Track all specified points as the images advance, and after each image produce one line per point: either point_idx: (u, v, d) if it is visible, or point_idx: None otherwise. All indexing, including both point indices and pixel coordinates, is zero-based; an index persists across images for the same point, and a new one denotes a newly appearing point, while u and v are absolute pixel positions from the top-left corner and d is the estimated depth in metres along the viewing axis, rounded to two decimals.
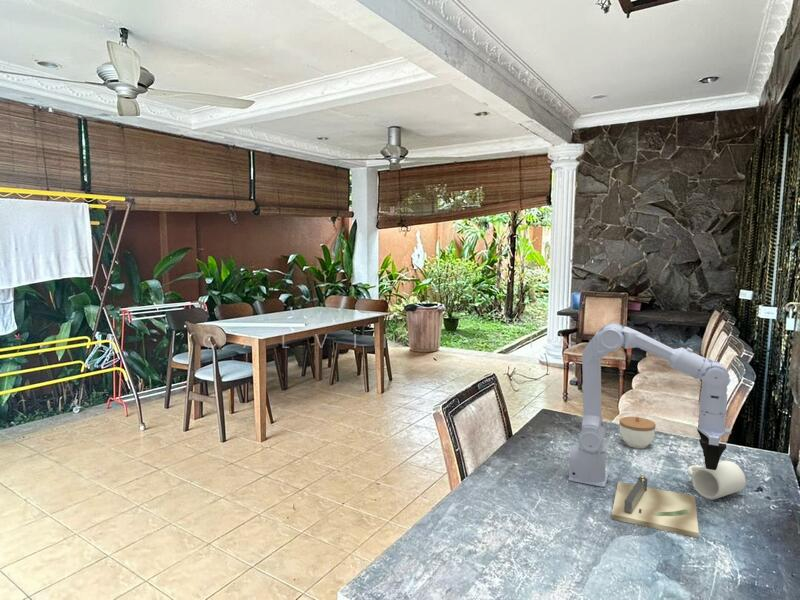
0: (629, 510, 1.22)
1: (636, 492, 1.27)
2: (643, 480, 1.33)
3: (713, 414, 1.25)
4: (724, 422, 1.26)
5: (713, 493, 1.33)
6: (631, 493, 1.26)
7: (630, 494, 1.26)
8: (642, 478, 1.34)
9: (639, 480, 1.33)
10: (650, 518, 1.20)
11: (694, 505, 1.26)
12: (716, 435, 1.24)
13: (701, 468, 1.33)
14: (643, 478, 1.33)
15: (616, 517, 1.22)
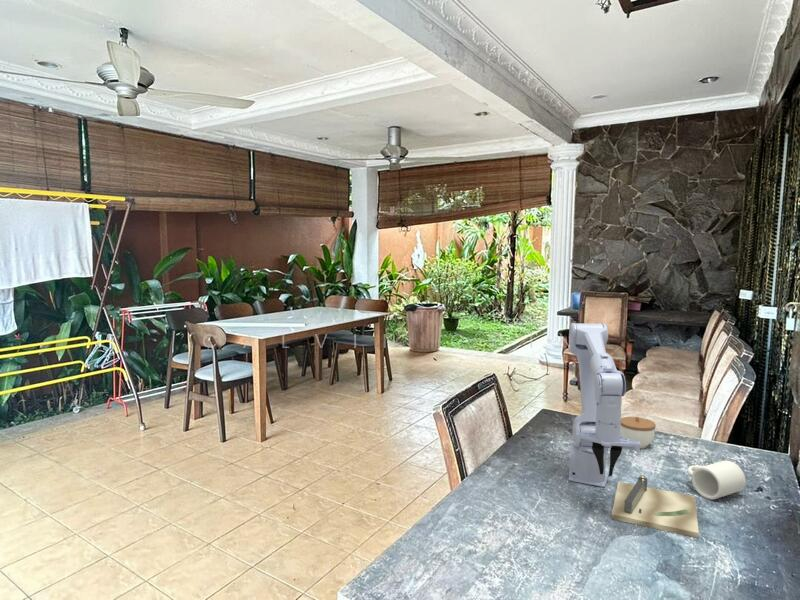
0: (629, 510, 1.22)
1: (636, 492, 1.27)
2: (643, 480, 1.33)
3: None
4: (601, 431, 1.25)
5: (713, 493, 1.33)
6: (631, 493, 1.26)
7: (630, 494, 1.26)
8: (642, 478, 1.34)
9: (639, 480, 1.33)
10: (650, 518, 1.20)
11: (694, 505, 1.26)
12: None
13: (701, 468, 1.33)
14: (643, 478, 1.33)
15: (616, 517, 1.22)
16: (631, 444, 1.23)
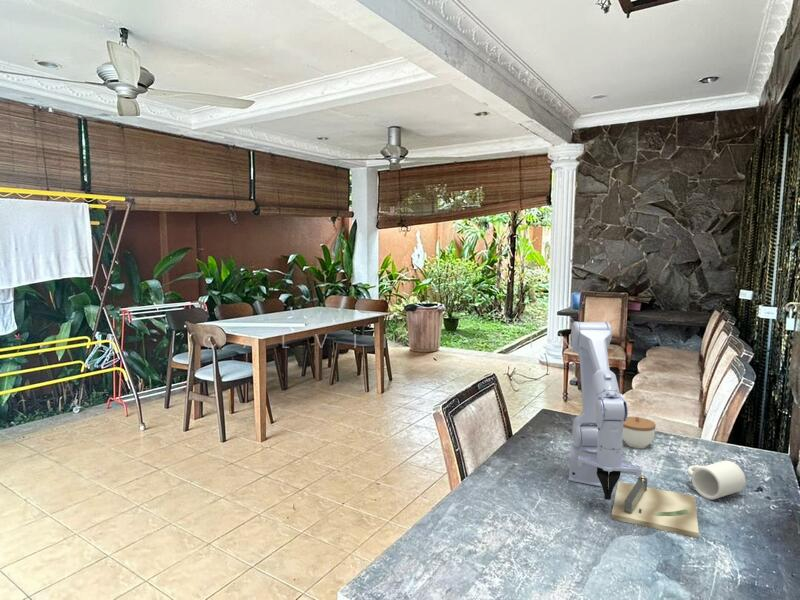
0: (629, 510, 1.22)
1: (636, 492, 1.27)
2: (643, 480, 1.33)
3: None
4: (602, 456, 1.25)
5: (713, 493, 1.33)
6: (631, 493, 1.26)
7: (630, 494, 1.26)
8: (642, 478, 1.34)
9: (639, 480, 1.33)
10: (650, 518, 1.20)
11: (694, 505, 1.26)
12: (588, 460, 1.29)
13: (701, 468, 1.33)
14: (643, 478, 1.33)
15: (616, 517, 1.22)
16: (633, 469, 1.23)
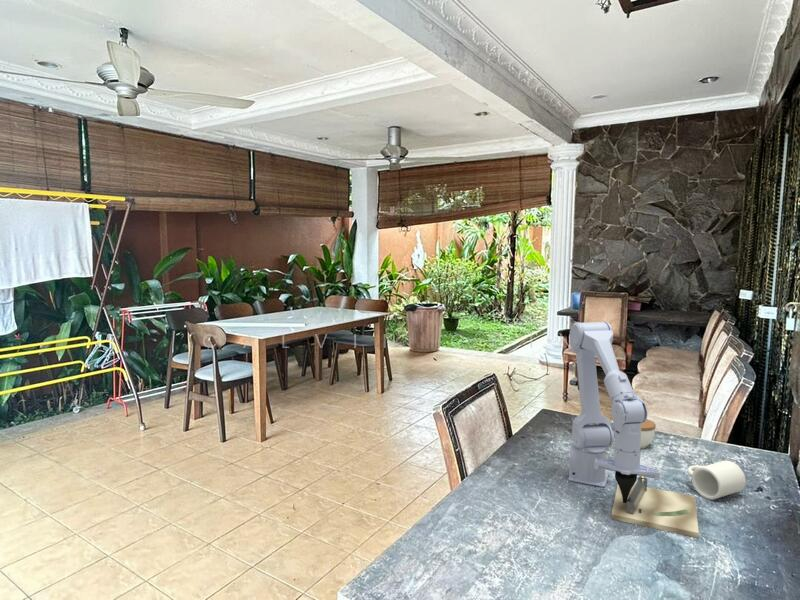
0: (631, 511, 1.22)
1: (637, 492, 1.27)
2: (643, 480, 1.33)
3: None
4: (620, 459, 1.23)
5: (713, 493, 1.33)
6: (632, 493, 1.26)
7: (631, 494, 1.25)
8: (642, 478, 1.33)
9: (639, 480, 1.33)
10: (650, 518, 1.20)
11: (694, 505, 1.26)
12: (605, 463, 1.27)
13: (701, 468, 1.33)
14: (643, 478, 1.33)
15: (616, 517, 1.22)
16: (651, 472, 1.21)
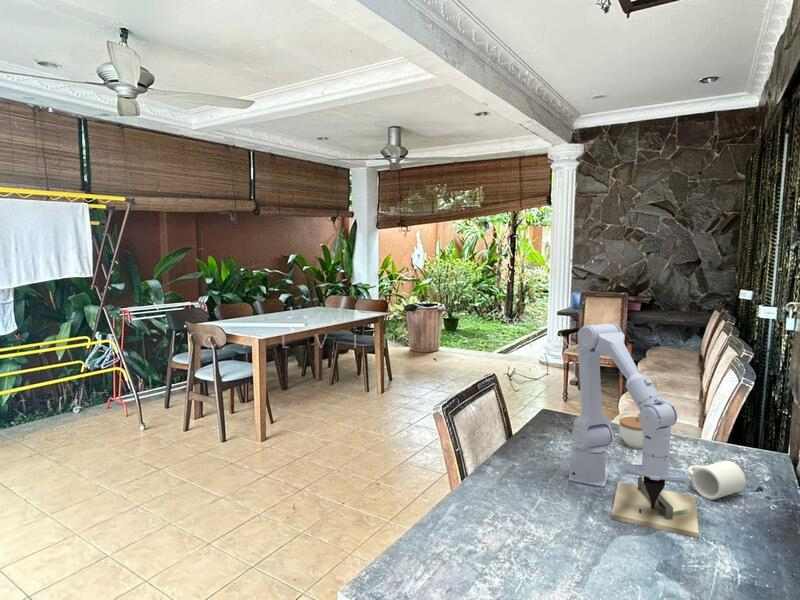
0: (670, 516, 1.19)
1: (660, 495, 1.25)
2: None
3: None
4: (648, 464, 1.21)
5: (713, 493, 1.33)
6: (658, 497, 1.24)
7: (659, 499, 1.23)
8: (643, 478, 1.33)
9: None
10: (650, 518, 1.20)
11: (694, 505, 1.26)
12: (632, 468, 1.24)
13: (701, 468, 1.33)
14: None
15: (616, 517, 1.22)
16: (681, 478, 1.19)
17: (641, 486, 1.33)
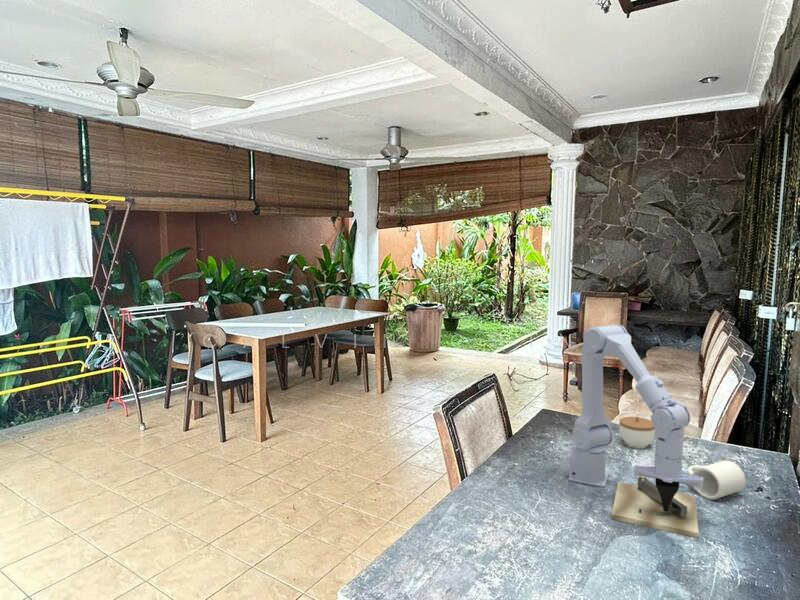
0: (685, 515, 1.20)
1: None
2: (646, 480, 1.33)
3: (655, 453, 1.22)
4: (661, 466, 1.19)
5: (713, 493, 1.33)
6: None
7: None
8: (644, 478, 1.33)
9: (644, 481, 1.32)
10: (650, 518, 1.20)
11: (694, 505, 1.26)
12: (645, 470, 1.23)
13: (701, 468, 1.33)
14: (644, 478, 1.34)
15: (616, 517, 1.22)
16: (694, 480, 1.18)
17: (643, 486, 1.33)
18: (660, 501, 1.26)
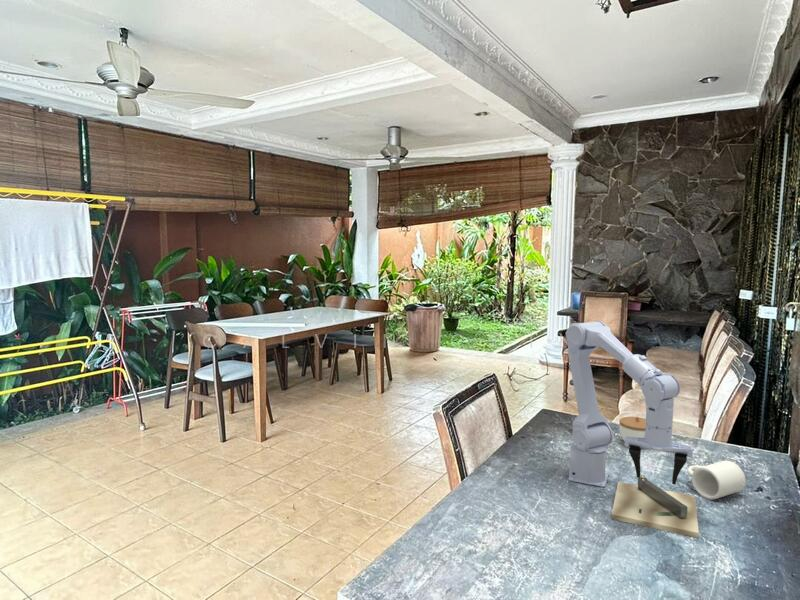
0: (685, 515, 1.20)
1: (668, 494, 1.25)
2: (646, 480, 1.33)
3: None
4: (651, 436, 1.21)
5: (713, 493, 1.33)
6: (668, 497, 1.24)
7: (670, 499, 1.23)
8: (644, 478, 1.33)
9: (644, 481, 1.32)
10: (650, 518, 1.20)
11: (694, 505, 1.26)
12: (635, 441, 1.25)
13: (701, 468, 1.33)
14: (644, 478, 1.34)
15: (616, 517, 1.22)
16: (683, 449, 1.19)
17: (643, 486, 1.33)
18: (660, 501, 1.26)
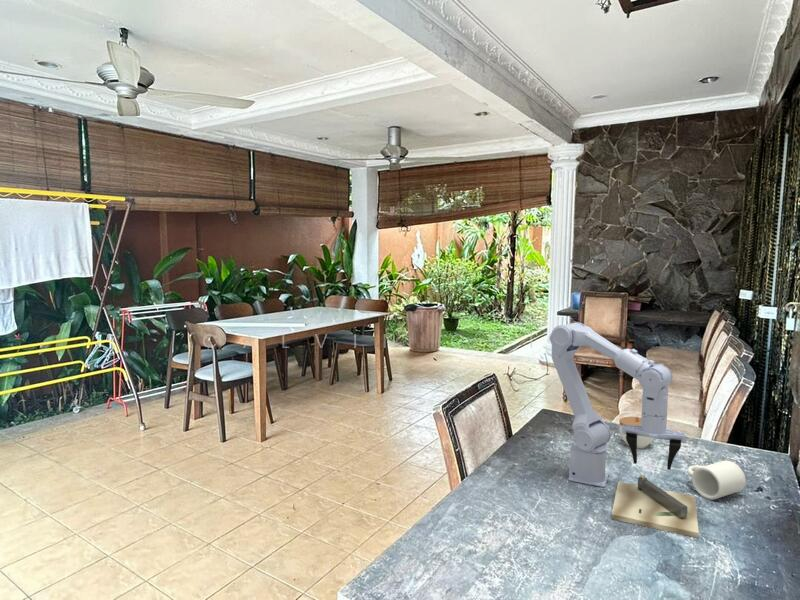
0: (685, 515, 1.20)
1: (668, 494, 1.25)
2: (646, 480, 1.33)
3: None
4: (647, 423, 1.27)
5: (713, 493, 1.33)
6: (668, 497, 1.24)
7: (670, 499, 1.23)
8: (644, 478, 1.33)
9: (644, 481, 1.32)
10: (650, 518, 1.20)
11: (694, 505, 1.26)
12: (632, 428, 1.31)
13: (701, 468, 1.33)
14: (644, 478, 1.34)
15: (616, 517, 1.22)
16: (678, 436, 1.25)
17: (643, 486, 1.33)
18: (660, 501, 1.26)
